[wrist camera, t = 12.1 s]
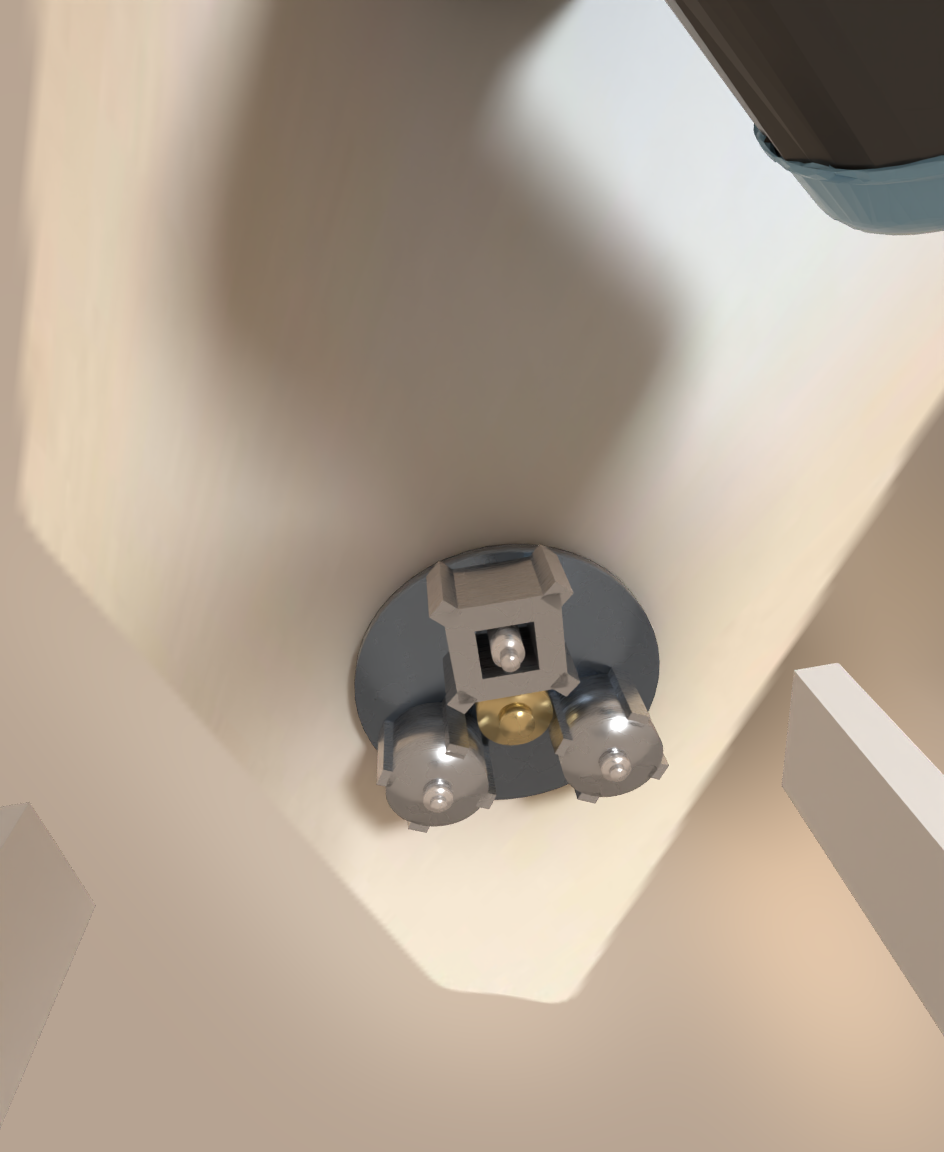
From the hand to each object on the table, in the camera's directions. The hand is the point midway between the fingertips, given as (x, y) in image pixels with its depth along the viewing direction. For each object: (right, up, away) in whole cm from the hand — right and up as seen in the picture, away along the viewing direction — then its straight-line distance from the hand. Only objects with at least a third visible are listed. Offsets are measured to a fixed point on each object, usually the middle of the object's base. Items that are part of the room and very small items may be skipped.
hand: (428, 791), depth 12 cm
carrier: (+3, -4, +39) cm, 39 cm away
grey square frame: (+3, +2, +34) cm, 34 cm away
